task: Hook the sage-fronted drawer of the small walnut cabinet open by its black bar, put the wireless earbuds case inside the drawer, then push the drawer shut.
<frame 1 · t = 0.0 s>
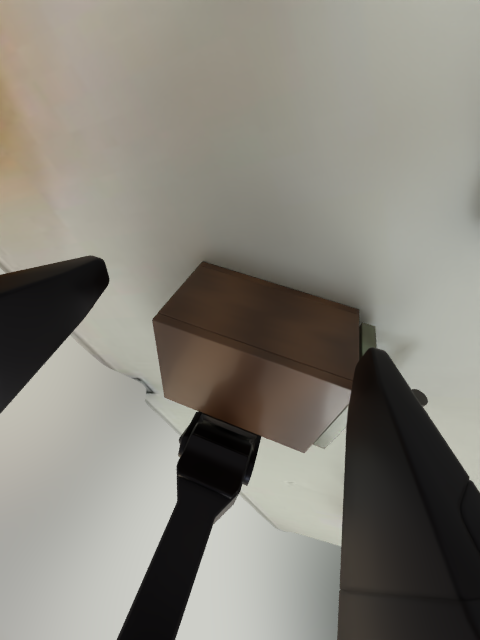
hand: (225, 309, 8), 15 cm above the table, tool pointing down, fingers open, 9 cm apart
drawer: (299, 373, 25), point 5 cm above the table, slide at 0.5 cm
cabinet: (265, 327, 29), on the table
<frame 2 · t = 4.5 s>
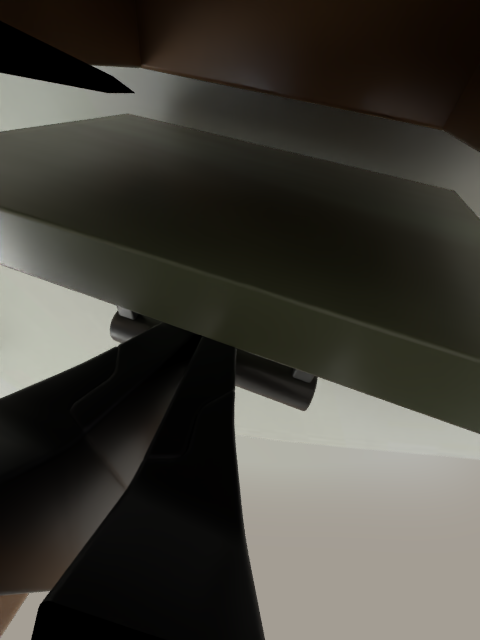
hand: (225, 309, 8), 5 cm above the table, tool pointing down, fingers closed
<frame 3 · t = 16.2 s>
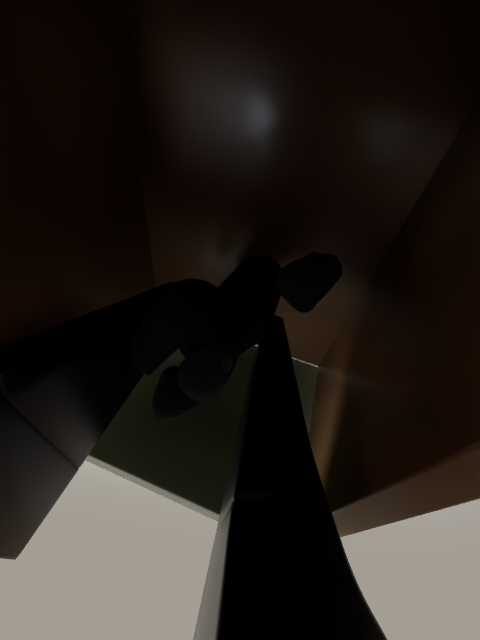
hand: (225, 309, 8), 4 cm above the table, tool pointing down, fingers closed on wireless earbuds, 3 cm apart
drawer: (216, 345, 9), point 5 cm above the table, slide at 9.6 cm, touching gripper
wireless earbuds: (240, 272, 9), point 2 cm above the table, touching gripper
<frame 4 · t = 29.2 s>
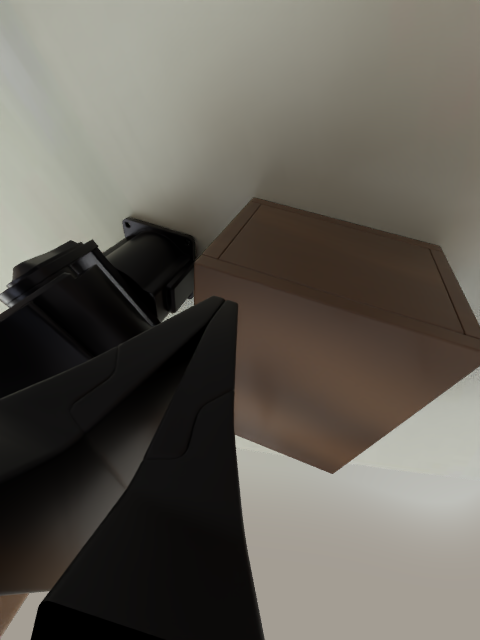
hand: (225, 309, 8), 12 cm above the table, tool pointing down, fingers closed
cabinet: (305, 308, 22), on the table
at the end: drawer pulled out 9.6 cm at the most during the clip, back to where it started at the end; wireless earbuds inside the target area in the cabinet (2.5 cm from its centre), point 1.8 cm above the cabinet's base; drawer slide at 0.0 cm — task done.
